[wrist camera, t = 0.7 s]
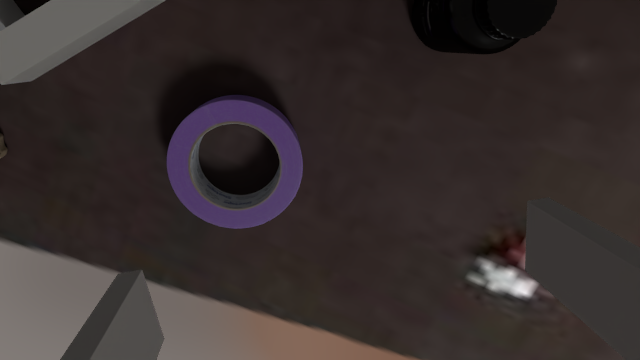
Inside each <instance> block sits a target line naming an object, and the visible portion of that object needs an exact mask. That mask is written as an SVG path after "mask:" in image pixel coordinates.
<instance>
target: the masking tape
mask: <svg viewBox="0 0 640 360" xmlns="http://www.w3.org/2000/svg"><path fill="white" fill-rule="evenodd" d="M224 124H242V125H247V126H250V127H253V128H255V129H257V130H259V131H260V132H262V133H263V134H264V135H265V136H266V137H267V138H268V139H269V140H270V141H271V142H272V143H273V145H274V147H275V148H276V151H277V153H278V156H279V161H280V162H279V167H278V170H277V173H276V175H275V176H274V178H273V179H272V181H271V182H270V183H269V184H268V185H267V186H265V187H264V188H263V189H261V190H259V191H257V192H255V193H251V194H247V195H234V194H229V193H226V192H224V191H221V190H219V189H218V188H216V187H215V186H214V185H212V184H211V183H210V182H209V181H208V179H207V178H206V177H205V175H204V174H203V172H202V170H201V167H200V164H199V158H198V151H199V145H200V142H201V140H202V137H203V135H204V134H205V133H207V132H208V131H209V130H211V129H213V128H215V127H218V126H220V125H224ZM167 171H168V176H169V179H170V183H171V185H172V188H173V190H174V192H175V193H176V195H177V197H178V198H179V200H180V201H181V202H182V203H183V204H184V205H185V207H186V208H188V209H189V210H190V211H191V212H192V213H193V214H195V215H196V216H198V217H199V218H201V219H203V220H205V221H207V222H209V223H211V224H214V225H217V226H221V227H226V228H248V227H253V226H257V225H260V224H263V223H265V222H267V221H269V220H271V219H273V218H274V217H276V216H277V215H279V214H280V213H281V212H282V211H283V210H284V209H285V208H286V207H287V206H288V205H289V204H290V202H291V201H292V200H293V198H294V197H295V195H296V193H297V191H298V188H299V185H300V182H301V178H302V172H303V160H302V153H301V149H300V144H299V140H298V137H297V135H296V132H295V130H294V128H293V127H292V125H291V124H290V122H289V121H288V119H287V118H286V117H285V116H284V115H283V114H282V113H281V112H280V111H279V110H278V109H276V108H275V107H274V106H272V105H270V104H269V103H267V102H265V101H263V100H261V99H258V98H255V97H251V96H245V95H227V96H222V97H218V98H215V99H212V100H210V101H208V102H206V103H204V104H203V105H201V106H200V107H198V108H197V109H196V110H194V111H193V112H192V113H190V114H189V115H188V116H187V117H186V118H185V119H184V120H183V121H182V122H181V123H180V124H179V126H178V127H177V129H176V130H175V132H174V134H173V136H172V138H171V141H170V143H169V147H168V152H167Z"/></svg>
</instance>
